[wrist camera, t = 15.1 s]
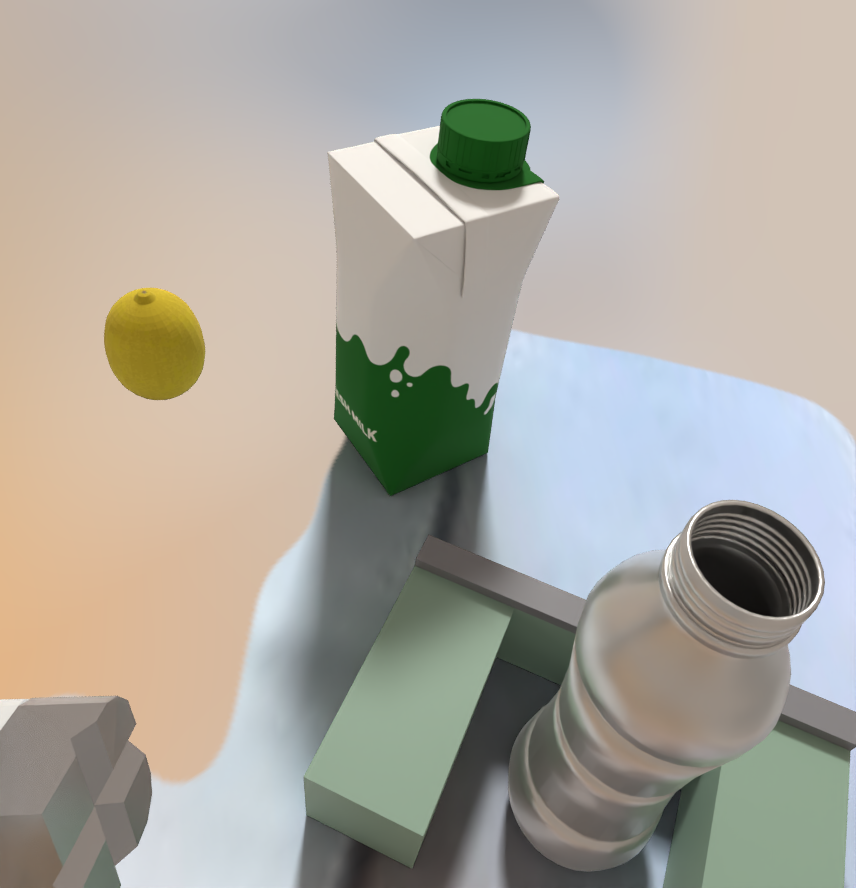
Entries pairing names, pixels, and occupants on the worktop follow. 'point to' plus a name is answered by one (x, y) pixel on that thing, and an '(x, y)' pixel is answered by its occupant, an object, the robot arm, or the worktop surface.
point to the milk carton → (430, 284)
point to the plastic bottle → (664, 682)
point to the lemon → (154, 344)
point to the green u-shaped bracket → (548, 655)
